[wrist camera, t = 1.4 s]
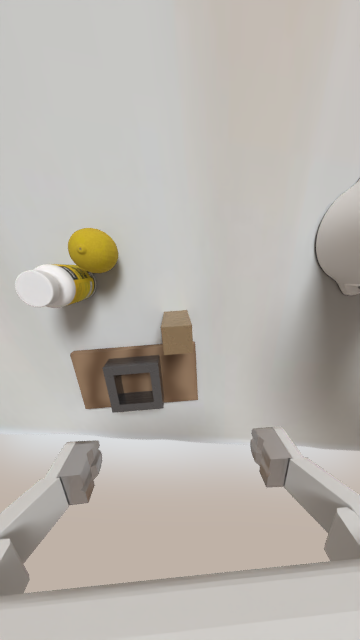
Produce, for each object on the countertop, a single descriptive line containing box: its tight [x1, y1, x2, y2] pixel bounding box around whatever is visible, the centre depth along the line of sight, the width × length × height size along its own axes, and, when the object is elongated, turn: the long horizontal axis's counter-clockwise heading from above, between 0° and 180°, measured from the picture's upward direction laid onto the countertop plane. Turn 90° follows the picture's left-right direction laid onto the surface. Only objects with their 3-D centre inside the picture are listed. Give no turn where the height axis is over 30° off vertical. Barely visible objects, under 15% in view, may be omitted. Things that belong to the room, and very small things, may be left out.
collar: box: [102, 355, 164, 412], centre depth 31 cm, size 9×9×3 cm
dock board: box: [70, 342, 198, 409], centre depth 33 cm, size 22×12×1 cm, turn 94°
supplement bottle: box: [15, 264, 96, 308], centre depth 24 cm, size 5×5×10 cm
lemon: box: [68, 228, 118, 273], centre depth 23 cm, size 6×6×8 cm
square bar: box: [161, 310, 193, 355], centre depth 27 cm, size 4×4×8 cm
